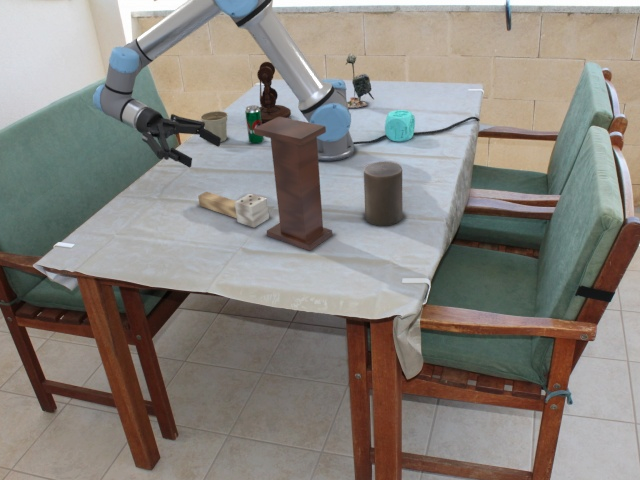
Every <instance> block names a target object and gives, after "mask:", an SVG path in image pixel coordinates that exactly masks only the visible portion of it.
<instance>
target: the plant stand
mask: <svg viewBox="0 0 640 480" xmlns="http://www.w3.org/2000/svg"><path fill="white" fill-rule="evenodd" d="M325 132H326V126H322V125H318V124H313V123H309V122H308V121H303V120H298V119H292V118H290V117H288V118H284V117H277V118H275V119H273V120H271V121H268V122H263V123H262V125H260V126H258V127H256V128H254V134H255V135H259V136H263V137H264V138H268V139H270V146H271V155H272V165H273V172H274V182H275V191H276V192H275V193H276V200H277V201H276V202H277V209H278V220H279V222H278V223H277V224H275V225H273V226H272V227H270V228H269V229H267V230H266V237H269V238H272V239H274V240H276V241H277V240H278V241H281V242H283V243H286V244H289V245H292V246H295V247H297V248H301V249H303V250H306V251H310V252H311V251H312V250H314V249H315V248H316V247H318V246H319V245H321V244H322V243H323V242H325V241H326V240H328V239H329V238H331V237H332V236H333V229H330V228H327V227H324V223H323V222H324V221H323V220H324V219H323V208H322V207H323V206H322V194H321V193H322V192H321V179H320V166H319V160H318V149H317V137H318V136H320V135H322V134H324V133H325Z"/></svg>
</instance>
